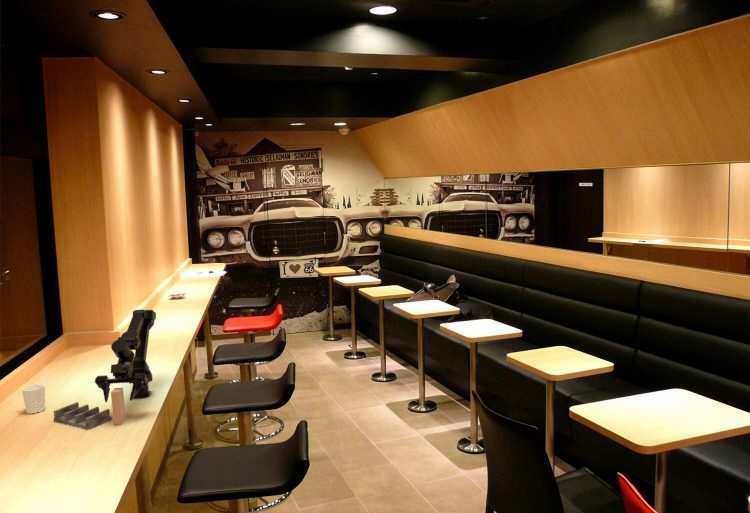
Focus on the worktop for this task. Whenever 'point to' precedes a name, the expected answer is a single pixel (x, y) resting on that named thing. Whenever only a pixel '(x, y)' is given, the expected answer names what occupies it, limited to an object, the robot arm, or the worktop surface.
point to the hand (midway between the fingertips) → (118, 401)
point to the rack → (81, 416)
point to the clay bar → (118, 406)
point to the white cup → (34, 398)
